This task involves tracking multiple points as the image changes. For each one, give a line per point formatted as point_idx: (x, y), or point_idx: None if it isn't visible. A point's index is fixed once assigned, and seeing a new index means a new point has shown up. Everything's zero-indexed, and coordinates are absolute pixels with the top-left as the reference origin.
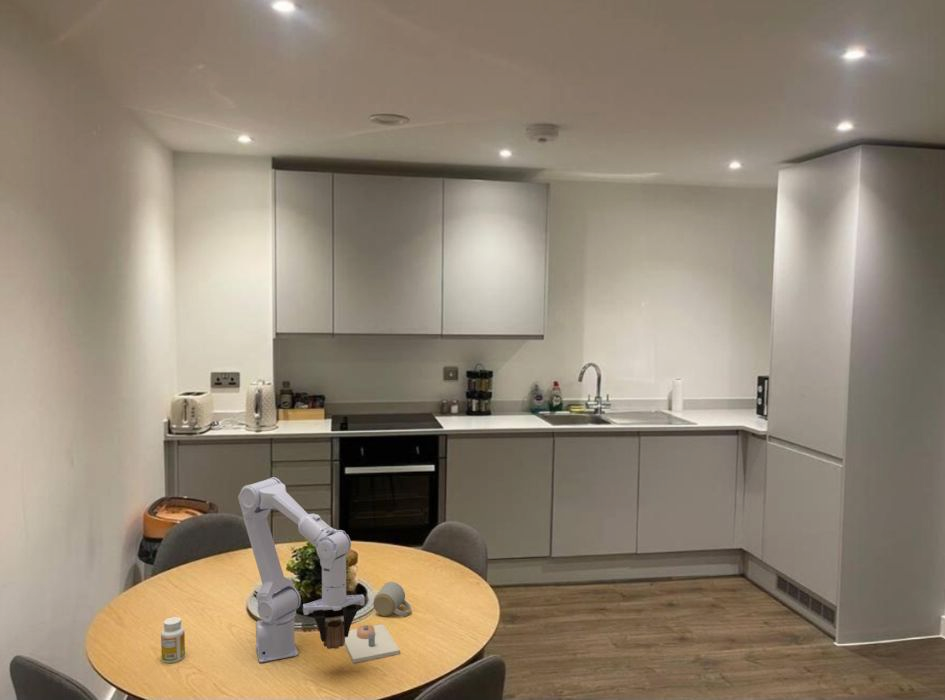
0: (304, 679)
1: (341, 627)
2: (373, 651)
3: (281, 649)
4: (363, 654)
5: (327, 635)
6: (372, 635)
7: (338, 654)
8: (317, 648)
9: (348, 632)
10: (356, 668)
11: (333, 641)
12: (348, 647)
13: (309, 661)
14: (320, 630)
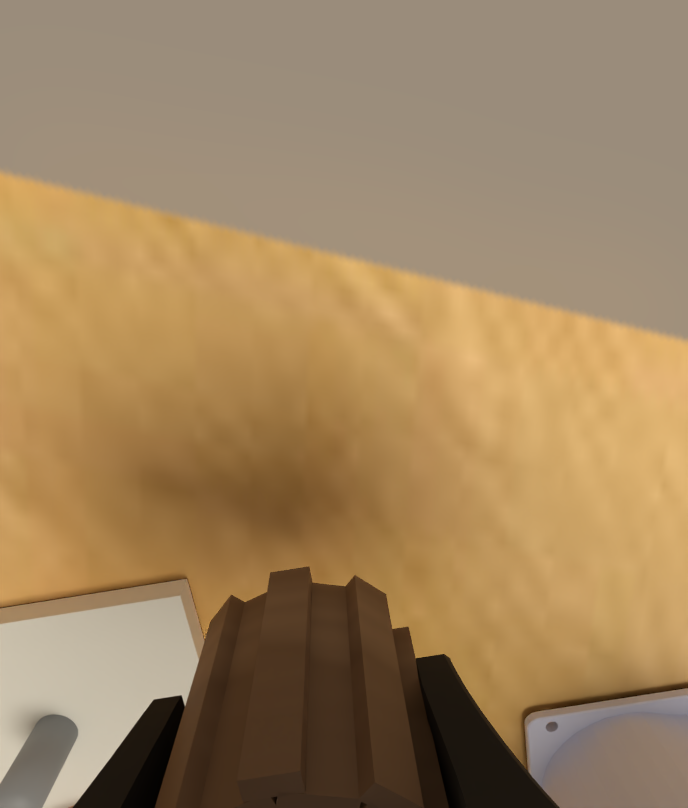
0: (512, 459)
1: (188, 803)
2: (39, 661)
3: (653, 753)
4: (109, 639)
5: (398, 704)
6: (3, 792)
7: None
8: None
9: (123, 742)
10: (165, 517)
11: (319, 634)
12: None
13: (462, 647)
14: (522, 772)
